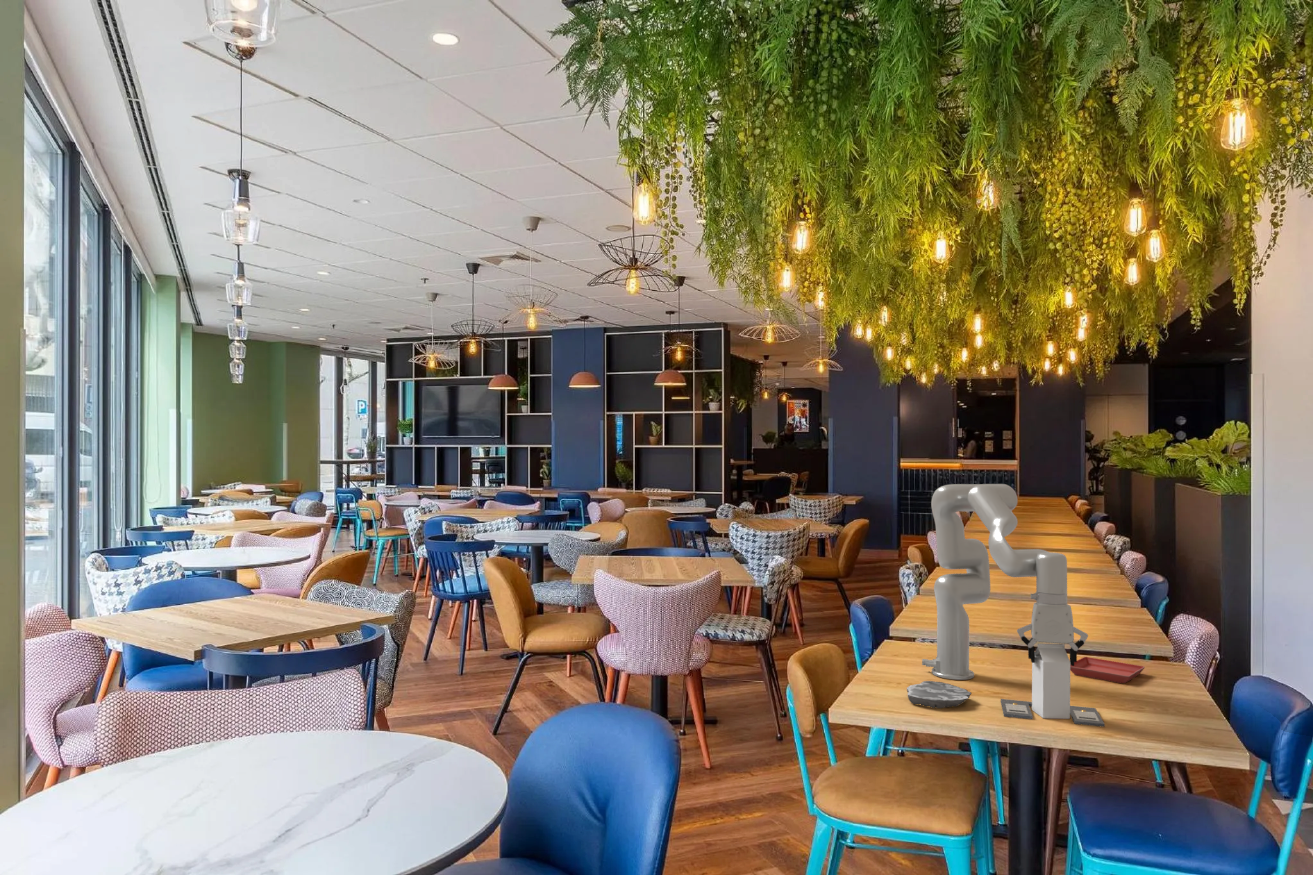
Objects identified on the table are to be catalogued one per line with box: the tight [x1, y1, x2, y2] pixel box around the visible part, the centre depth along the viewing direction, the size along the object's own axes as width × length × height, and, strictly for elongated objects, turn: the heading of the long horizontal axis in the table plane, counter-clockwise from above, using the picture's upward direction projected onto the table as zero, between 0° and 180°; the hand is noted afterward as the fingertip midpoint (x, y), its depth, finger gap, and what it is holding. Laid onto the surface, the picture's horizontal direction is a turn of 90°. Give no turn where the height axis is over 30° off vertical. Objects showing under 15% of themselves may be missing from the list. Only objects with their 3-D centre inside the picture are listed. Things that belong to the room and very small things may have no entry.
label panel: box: [1000, 698, 1106, 728], centre depth 229 cm, size 24×14×1 cm, turn 71°
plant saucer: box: [1070, 656, 1145, 684], centre depth 270 cm, size 18×18×3 cm
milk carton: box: [1031, 643, 1071, 720], centre depth 228 cm, size 7×7×19 cm
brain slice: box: [906, 680, 972, 709], centre depth 240 cm, size 20×17×3 cm
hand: (1052, 663), depth 228 cm, fingers open, 9 cm apart
